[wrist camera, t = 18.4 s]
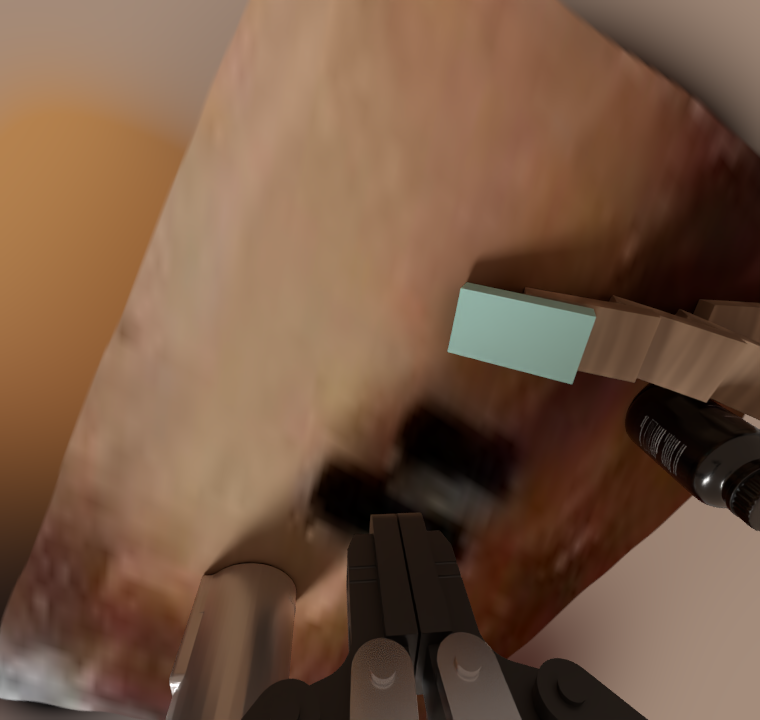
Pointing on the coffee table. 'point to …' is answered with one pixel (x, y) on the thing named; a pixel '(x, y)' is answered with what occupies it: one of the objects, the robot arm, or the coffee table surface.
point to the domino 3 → (687, 354)
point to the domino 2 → (612, 335)
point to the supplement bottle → (700, 449)
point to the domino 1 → (521, 331)
